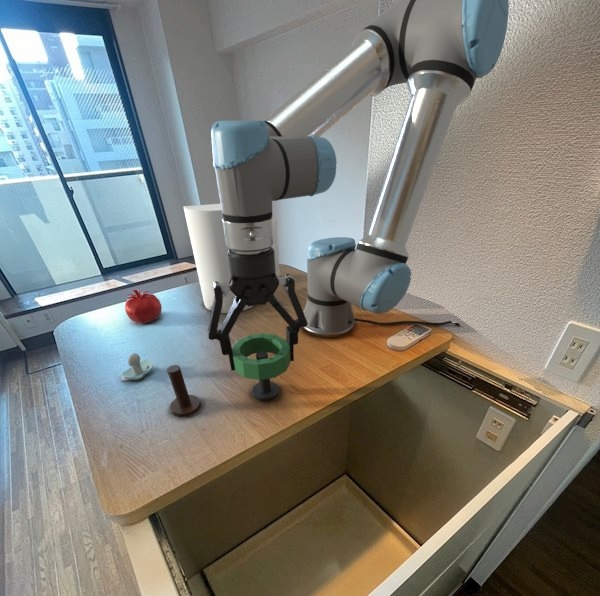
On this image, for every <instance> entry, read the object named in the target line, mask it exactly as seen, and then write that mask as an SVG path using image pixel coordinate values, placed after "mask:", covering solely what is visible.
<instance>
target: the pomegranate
mask: <svg viewBox="0 0 600 596" xmlns="http://www.w3.org/2000/svg"><path fill="white" fill-rule="evenodd" d="M132 291H133V292H134V294H132V293H129V294H128V298H127V297H126V299H127V300H126V301H125V304H124V311H125V313H126V316H127V317H128V318H129V319H130V320H131V321H133V322H134V323H137V324H142V325H144V324H148V323H151V322H153V321H155V320H156V319H158V318H160V316H161V313H162V310H163V309H162V304H161V300H160V299H159V298H158V297H157V296H156V295H155V294H153V293H150V292H149V291H148V290H147V291H144V292H143V293H141V290H138V288H134V289H133V290H132Z"/></svg>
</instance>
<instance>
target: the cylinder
mask: <svg viewBox="0 0 600 596" xmlns="http://www.w3.org/2000/svg"><path fill="white" fill-rule="evenodd" d="M183 211H184V216H185V221H186V226H187V230H188V235H189V239H190V245H191V248H192V253H193V258H194V264H195V267H196V271H197V276H198V282H199V286H200V291H201V295H202V300H203V304H204V306H205V308H206V309H207V310H209V311H212V306H213V301H214V296H215V293H214V288H213V283H214V282H216V281H217V282H219V283H220V284H221V283H229V281H230V278H231V275H230V268H229V261H228V254H227V252H228V251H229V249H230V248H228V247H227V246H226V241H225V234H224V227H223V220H222V219H223V217H222V211H221V204H220V203H211V204H210V203H209V204H196V205H183ZM235 297H236V296H235V295H234V294H233V293H232V292H231V290H230V291H228V292H227V295H226V297H223V304H222V309H221V314H228V312H229V310H230V308H231V306H232V304H233V301H234V299H235ZM253 307H254V306H249V307H248V305H245V307H244V309H243V311H242V312H244V311H246V310H249V309H251V308H253Z"/></svg>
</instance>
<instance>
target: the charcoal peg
mask: <svg viewBox="0 0 600 596" xmlns="http://www.w3.org/2000/svg"><path fill="white" fill-rule="evenodd" d="M267 358H269V353H268V352H264V351H261V352H258V353H255V359H257V360H260V359H267ZM251 395H252V398H253V399H254V400H256V401H258V402H261V403H265V402H266V403H267V402H272V401H274V400H276V399H277V398H278V397H279V395H280V386H279V384H277V383H276V382H273V381H271V378H270V379H264V380H258V382H256V383H255V384H254V385H253V386H252V388H251Z"/></svg>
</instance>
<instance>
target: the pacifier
mask: <svg viewBox="0 0 600 596" xmlns="http://www.w3.org/2000/svg"><path fill="white" fill-rule="evenodd" d="M127 364H128V366H129V367H130V368H128V369H126V370H125V371H124V372H123V373H122V374H121V380H122V381H124V382H128V381H132V380H133V381H139V380H141V379H144V377H146V376H147V374H149V373H150V372H151V371H152V369H153V366H154V365H153V362H152V361H151V360H150V359H144V360H141V357H140V354H138V353H137V352H136V353H135V352H134V353H131V354H130V355H129V357H128V359H127Z"/></svg>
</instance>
